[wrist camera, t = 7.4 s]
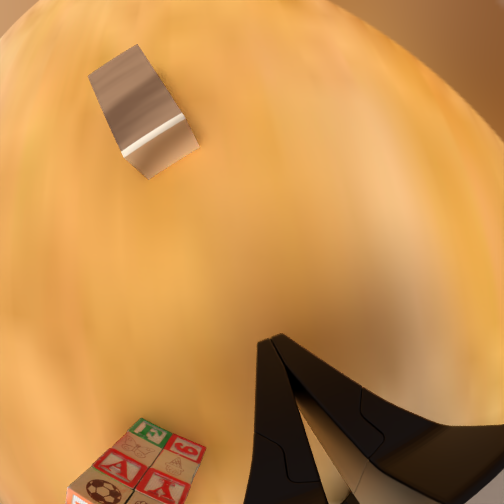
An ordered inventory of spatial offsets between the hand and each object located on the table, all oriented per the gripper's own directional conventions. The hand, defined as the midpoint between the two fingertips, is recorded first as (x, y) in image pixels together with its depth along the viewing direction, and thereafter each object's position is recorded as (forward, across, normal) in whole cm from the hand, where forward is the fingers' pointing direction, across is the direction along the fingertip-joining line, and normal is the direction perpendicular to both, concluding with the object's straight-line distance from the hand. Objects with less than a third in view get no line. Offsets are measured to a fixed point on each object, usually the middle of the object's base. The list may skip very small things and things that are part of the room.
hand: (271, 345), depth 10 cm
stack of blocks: (+4, +16, +22) cm, 28 cm away
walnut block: (+17, +2, -4) cm, 18 cm away
